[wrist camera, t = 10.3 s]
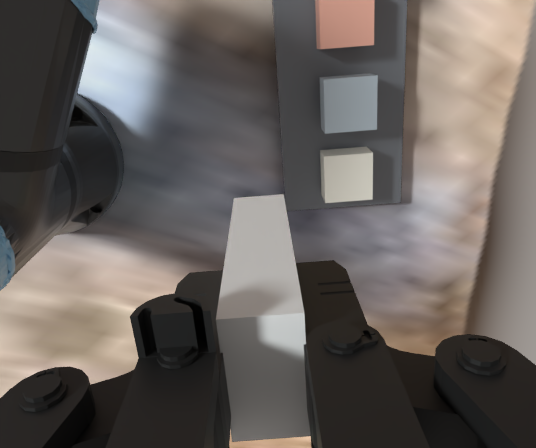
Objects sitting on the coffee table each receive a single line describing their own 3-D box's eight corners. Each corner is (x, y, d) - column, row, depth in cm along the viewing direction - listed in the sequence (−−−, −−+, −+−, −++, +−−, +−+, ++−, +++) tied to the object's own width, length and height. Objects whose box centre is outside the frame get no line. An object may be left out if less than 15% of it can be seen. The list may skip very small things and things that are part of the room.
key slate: (318, 124, 45) (325, 133, 41) (316, 75, 44) (323, 79, 39) (364, 120, 45) (376, 129, 41) (365, 71, 44) (377, 75, 39)
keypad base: (285, 205, 50) (286, 211, 48) (270, -22, 42) (271, -25, 40) (395, 196, 50) (400, 202, 48) (401, -33, 42) (408, -36, 40)
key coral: (314, 48, 44) (320, 49, 40) (312, -5, 43) (318, -11, 38) (361, 44, 44) (374, 44, 40) (362, -9, 42) (374, -15, 38)
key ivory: (318, 188, 49) (325, 203, 45) (317, 145, 48) (323, 156, 43) (361, 185, 49) (372, 199, 45) (361, 142, 48) (373, 152, 43)
